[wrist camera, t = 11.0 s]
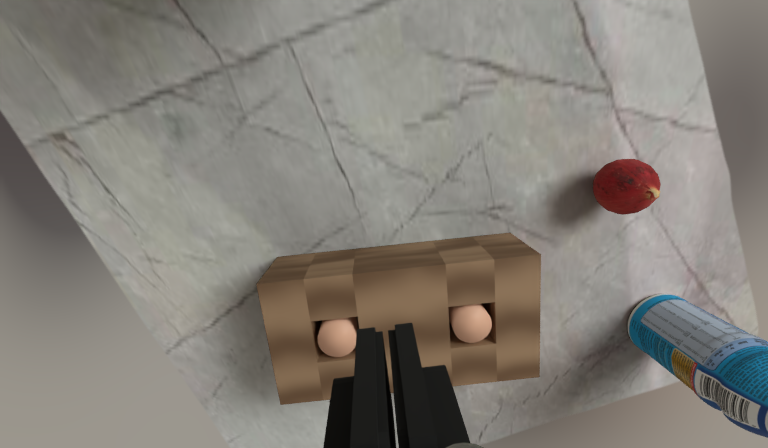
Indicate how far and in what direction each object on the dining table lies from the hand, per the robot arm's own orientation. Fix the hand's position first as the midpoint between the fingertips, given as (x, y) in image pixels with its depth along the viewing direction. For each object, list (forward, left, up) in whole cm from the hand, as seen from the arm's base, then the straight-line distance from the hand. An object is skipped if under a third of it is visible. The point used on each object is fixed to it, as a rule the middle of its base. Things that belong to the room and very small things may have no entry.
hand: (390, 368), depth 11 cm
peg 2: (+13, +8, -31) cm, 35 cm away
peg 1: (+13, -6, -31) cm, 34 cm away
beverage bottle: (+20, +34, -32) cm, 51 cm away
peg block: (+13, +1, -31) cm, 34 cm away
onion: (+1, +26, -32) cm, 41 cm away
